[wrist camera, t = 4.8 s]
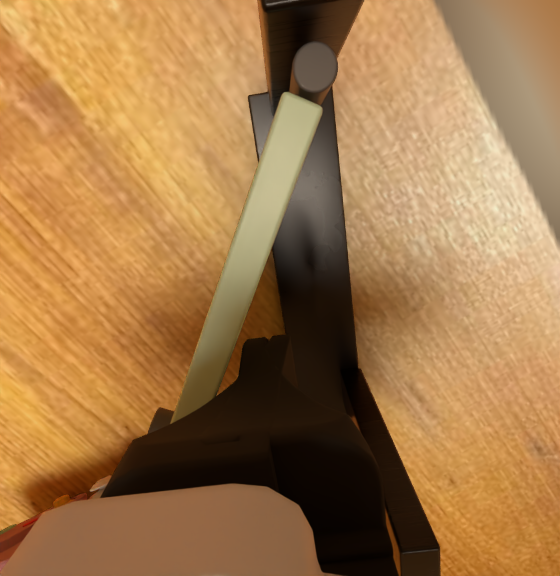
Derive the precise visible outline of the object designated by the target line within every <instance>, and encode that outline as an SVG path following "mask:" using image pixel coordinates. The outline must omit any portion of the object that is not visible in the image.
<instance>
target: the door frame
mask: <svg viewBox="0 0 560 576" xmlns="http://www.w3.org/2000/svg"><path fill="white" fill-rule="evenodd" d="M257 2H258V11H259V19H260V28H261V37H262V45H263V54H264V63H265V71H266V78H267V85H268V92H265V93H260V94H254V95H249V96H248V102H249V108H250V114H251V120H252V127H253V133H254V139H255V145H256V152H257V158H258V163H259V160H260V157H261V154H262V151H263V148H264V145H265V142H266V139H267V136H268V133H269V131H270V128H271V125H272V122H273V119H274V116H275V113H276V110H277V107H278V104H279V101H280V98H281V95H282V94H283V93H284V92H289V89H290V80H291V72H292V64H293V59H294V57H295V54H296V53H297V51H298V50H299V49H300V48H301V47H302V46H303V45H304V44H306V43H308V42H312V41H319V42H323V43H325V44H327V45H328V46H329V47H330V48H331V49H332V50H333V51H334V53H335V55H336V58H337V57H338V55H339V53H340V51H341V49H342V47H343V45H344V43H345V40H346V38H347V36H348V34H349V32H350V30H351V28H352V26H353V23H354V21H355V19H356V17H357V15H358V13H359V11H360V8H361V6H362V4H363V2H364V0H257ZM321 107H322V116H321V118H320V121H319V124H318V126H317V129H316V132H315V134H314V137H313V140H312V142H311V145H310V148H309V150H308V153H307V155H306V158H305V161H304V163H303V166H302V169H301V171H300V174H299V177H298V179H297V182H296V185H295V187H294V190H293V193H292V195H291V198H290V201H289V203H288V206H287V209H286V211H285V214H284V217H283V219H282V222H281V225H280V227H279V230H278V233H277V235H276V238H275V241H274V243H273V246H272V252H273V258H274V264H275V270H276V277H277V283H278V289H279V295H280V302H281V308H282V314H283V321H284V327H285V333H286V334H290V338H291V344H292V351H293V358H294V364H295V371H296V378H297V385H298V389H299V390H301V391H302V392H303V393H304V394H306V395H307V396H309V397H310V398H311V399H313V400H315V401H317V402H319V403H320V404H322V405H324V406H327V407H329V408H332V409H335V410H337V411H340V412H342V413H345V414H347V415H348V416H350V418H351V419H352V420H353V422H354V423H355V425H356V426H357V428H358V429H359V431H360V432H361V434H362V436H363V437H364V439H365V440H366V442H367V444H368V446H369V448H370V450H371V451H372V453H373V455H374V457H375V459H376V461H377V464H378V466H379V469H380V472H381V475H382V479H383V485H384V497H385V512H386V526H387V529H388V532H389V536H390V539H391V542H392V546H393V554H394V555H393V558H394V561H395V564H396V568H397V571H398V574H399V576H440V546H439V544H438V541H437V539H436V537H435V535H434V532H433V530H432V528H431V526H430V523H429V521H428V519H427V517H426V514H425V512H424V510H423V508H422V505H421V503H420V501H419V499H418V496H417V494H416V492H415V490H414V487H413V485H412V483H411V481H410V478H409V476H408V474H407V472H406V469H405V467H404V465H403V463H402V460H401V458H400V456H399V454H398V451H397V449H396V447H395V445H394V442H393V440H392V438H391V436H390V433H389V431H388V429H387V427H386V424H385V422H384V420H383V418H382V415H381V413H380V411H379V409H378V406H377V404H376V402H375V400H374V397H373V395H372V393H371V391H370V388H369V386H368V384H367V382H366V379H365V377H364V375H363V373H362V370H361V369H360V368H358V358H357V347H356V336H355V326H354V315H353V304H352V294H351V283H350V272H349V261H348V251H347V240H346V229H345V219H344V208H343V197H342V187H341V176H340V165H339V154H338V144H337V133H336V122H335V112H334V101H333V90H332V86H331V88H330V90H329V92H328V93H327V95H326V97H325V99H324V101H323V103H322V104H321Z"/></svg>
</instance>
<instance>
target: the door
mask: <svg viewBox="0 0 560 576" xmlns="http://www.w3.org/2000/svg"><path fill="white" fill-rule="evenodd" d="M337 72H338V62H337V58H336V55H335V53H334V51H333V50H332V49H331V48H330V47H329V46H328V45H327V44H325V43H323V42H319V41H312V42H308V43H306V44H304V45H303V46H302V47H301V48H300V49H299V50H298V51H297V53H296V54H295V57H294V59H293V64H292V72H291V80H290V89H289V92H284V93H283V94H282V95H281V98H280V101H279V104H278V107H277V110H276V113H275V116H274V119H273V122H272V125H271V128H270V131H269V133H268V136H267V139H266V142H265V145H264V148H263V151H262V154H261V157H260V160H259V163H258V166H257V169H256V172H255V175H254V178H253V181H252V184H251V187H250V190H249V193H248V195H247V198H246V201H245V204H244V207H243V210H242V213H241V216H240V219H239V222H238V225H237V228H236V231H235V234H234V237H233V240H232V243H231V246H230V249H229V252H228V255H227V257H226V260H225V263H224V266H223V269H222V272H221V275H220V278H219V281H218V284H217V287H216V290H215V293H214V296H213V299H212V302H211V305H210V308H209V311H208V314H207V317H206V319H205V322H204V325H203V328H202V331H201V334H200V337H199V340H198V343H197V346H196V349H195V352H194V355H193V358H192V361H191V364H190V367H189V370H188V373H187V376H186V379H185V381H184V384H183V387H182V390H181V393H180V396H179V399H178V402H177V405H176V408H175V411H171V410H167V409H164V408H161V407H160V408H158V410H157V411H156V413H155V415H154V417H153V420H152V422H151V425H150V427H149V430H148V434H149V433H151V432H153V431H156V430H158V429H160V428H163V427H165V426H167V425H169V424H171V423H173V422H175V421H177V420H179V419H181V418H183V417H185V416H187V415H188V414H190V413H192V412H193V411H195V410H197V409H199V408H200V407H202V406H203V405H205V404H206V403H208V402H209V401H210V400H212V399H213V398H215V397H216V395H217V392H218V390H219V387H220V385H221V382H222V379H223V377H224V374H225V371H226V369H227V366H228V363H229V361H230V358H231V355H232V353H233V350H234V347H235V345H236V342H237V339H238V337H239V334H240V331H241V329H242V326H243V323H244V321H245V318H246V315H247V313H248V310H249V307H250V305H251V302H252V299H253V297H254V294H255V291H256V289H257V286H258V283H259V281H260V278H261V275H262V273H263V270H264V267H265V265H266V262H267V259H268V257H269V254H270V251H271V249H272V246H273V243H274V241H275V238H276V235H277V233H278V230H279V227H280V225H281V222H282V219H283V217H284V214H285V211H286V209H287V206H288V203H289V201H290V198H291V195H292V193H293V190H294V187H295V185H296V182H297V179H298V177H299V174H300V171H301V169H302V166H303V163H304V161H305V158H306V155H307V153H308V150H309V148H310V145H311V142H312V140H313V137H314V134H315V132H316V129H317V126H318V124H319V121H320V118H321V116H322V107H321V104H322V103H323V101H324V99H325V97H326V95H327V93H328V92H329V90H330V88H331V86H332V84H333V82H334V81H335V78H336V76H337Z"/></svg>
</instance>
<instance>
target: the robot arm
mask: <svg viewBox="0 0 560 576" xmlns="http://www.w3.org/2000/svg"><path fill="white" fill-rule="evenodd" d="M393 555H394V554H393V546H392V542H391V539H390V536H389V532H388V529H387V526H386V512H385V497H384V485H383V479H382V475H381V472H380V469H379V466H378V464H377V461H376V459H375V457H374V455H373V453H372V451H371V450H370V448H369V446H368V444H367V442H366V440H365V439H364V437H363V436H362V434H361V432H360V431H359V429H358V428H357V426H356V425H355V423H354V422H353V420H352V419H351V418H350V416H348V415H347V414H345V413H342V412H340V411H337V410H335V409H332V408H329V407H327V406H324V405H322V404H320V403H319V402H317V401H315V400H313V399H311V398H310V397H309V396H307V395H306V394H304V393H303V392H302V391H301V390H299V389H298V385H297V378H296V371H295V364H294V358H293V351H292V344H291V338H290V334H285V335H277V336H272V337H271V339H270V340H268V339H267V338H265V337H262V338H254V339H247V340H246V342H245V343H244V345H243V348H242V354H241V361H240V369H239V374H238V378H237V380H236V381H235V382H234V383H233V384H231V385H230V386H229V387H228V388H227V389H225V390H224V391H223V392H222V393H220V394H219V395H218V396H216V397H215V398H213V399H212V400H210V401H209V402H208V403H206V404H205V405H203V406H202V407H200V408H199V409H197V410H195V411H193V412H192V413H190V414H188V415H187V416H185V417H183V418H181V419H179V420H177V421H175V422H173V423H171V424H169V425H167V426H165V427H163V428H160V429H158V430H156V431H153V432H151V433H149V434H146V435H144V436H142V437H139V438H137V439H134V440H133V441H132V443H131V444H130V446H129V447H128V449H127V451H126V452H125V454H124V455H123V457H122V459H121V461H120V462H119V464H118V466H117V468H116V470H115V471H114V473H113V475H112V477H111V478H110V480H109V482H108V484H107V486H106V487H105V489H104V491H103V493H102V495H101V497H100V498H98V499H89V500H80V501H74V502H71V503H69V504H66V505H63V506H60V507H57V508H54V509H52V510H49V511H46V512H43V513H42V514H41V516H40V517H39V519H38V520H37V521H36V523H35V524H34V526H33V527H32V528H31V530H30V531H29V533H28V534H27V535H26V537H25V538H24V540H23V541H22V542H21V544H20V545H19V547H18V548H17V549H16V551H15V552H14V554H13V555H12V556H11V558H10V559H9V561H8V562H7V563H6V565H5V566H4V568H3V569H2V570H1V572H0V576H399V574H398V571H397V568H396V564H395V561H394V558H393Z"/></svg>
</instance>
